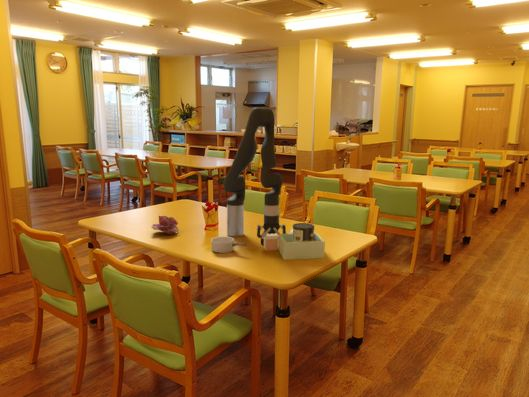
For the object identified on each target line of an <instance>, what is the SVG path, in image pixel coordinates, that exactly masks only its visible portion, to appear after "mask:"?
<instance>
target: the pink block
mask: <svg viewBox="0 0 529 397" xmlns="http://www.w3.org/2000/svg"><path fill="white" fill-rule="evenodd" d="M263 247H264V250H265V252H267V251H279V250H278V234H277V233H275V234H268V233H267V235H266V236H265V237H264V246H263Z"/></svg>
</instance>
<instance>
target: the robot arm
mask: <svg viewBox="0 0 529 397" xmlns="http://www.w3.org/2000/svg"><path fill="white" fill-rule="evenodd" d="M245 126H246V127H245V130H244V133H243V135H242V138H241V140H240V143H239V145H238V148H237V151H236V154H235V157H234V158H233V162H232V163H231V166H230V168H229V170H228V172H227V174H226V176H225V177H224V180H223V186H222V187H223V190H224V191H225V192H226V193H230V194H232V195H231V196H230V197H228V198H227V199H226V237H233V238H235V237H242V236H244V235H245V233H244V232H245V223H244V222H245V217H244V216H245V214H244V213H245V211H244V209H245V205H244V202H245V199H246V180H245V177H244V176H243V175H242V174H241V173H242V172H244V171H245V169H247V167H248V166H250V164H251V163H253V161H254V158H255V156H256V153H257V150H258V149H257V148H258V147H257V143H256V142H257V141H256V133H257V131H258V128H259V127H260V128H261V127H262V128H264V138H263V142H262V145H261V149H260V158H261V164H262V165H261V175H260V184H261V186H262V187H263V188H265V189H271V190H270V191H268V192H265V194H264V207H263V224H262V225H261V224H258V225H257V228H256V229H257V230H256V236H257V238H258V239H260V245H261V246H262V247H264V237H265V236H266V235H267V234H277V235H278V234H281V233H280V232H279V230H280V228H281V230H282V234H286V233H287V232H286V231H287V230H286V225H285V224H284V223H283V224H280V204H279V203H280V194H281V189H282V186H283V182H284V181H283V176H282V175H281V173H279V172H272V173H271V172H270V171H271V169H275V168H276V167H277V158H276V157H277V156H276V151H275V149H276V148H275V114H274V111H273V110H272V109H271V108H269V107H261V106H257V107H254V108H252V110H251V111H250V113H249V116H248V119H247V123H246V125H245ZM262 229H263V230H264V231H263V232H262V233H261V231H262Z"/></svg>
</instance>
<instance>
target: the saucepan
mask: <svg viewBox="0 0 529 397" xmlns="http://www.w3.org/2000/svg"><path fill="white" fill-rule="evenodd" d="M210 241H211V250H212V251H213V252H215V253H217V252H219V254H226V253H225V252H227V253H230V252H231V251H234V247H237V246H241V247H247V246H248V244H247V243H241V242H234V241H235V237H233V236H227V235H226V236H225V235H224V236H215V237H212V238H211V239H210Z"/></svg>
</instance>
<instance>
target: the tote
mask: <svg viewBox="0 0 529 397" xmlns="http://www.w3.org/2000/svg"><path fill="white" fill-rule="evenodd" d="M277 236H278V250H277V251H279V253H280V255H281V257H282V259H283V260H305V259H307V260H309V259H325V250H326V249H325V247H326V244H325V243H326V242H325V240H324V239H323V238H322V237H321V236H320V234H318V233H317V232H314V241H303V242H293V233H290V232H288V233H287V232H286V234H283V233H280V234H277Z"/></svg>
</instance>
